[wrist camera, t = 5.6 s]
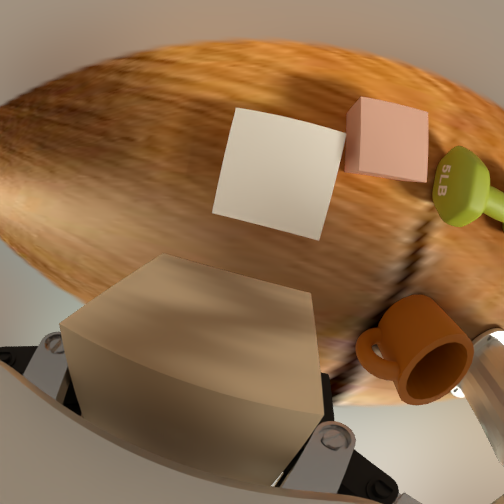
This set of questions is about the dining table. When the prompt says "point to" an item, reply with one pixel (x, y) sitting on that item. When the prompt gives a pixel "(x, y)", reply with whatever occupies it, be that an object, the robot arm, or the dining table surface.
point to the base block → (278, 172)
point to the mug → (417, 350)
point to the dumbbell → (465, 189)
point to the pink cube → (387, 140)
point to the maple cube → (199, 367)
